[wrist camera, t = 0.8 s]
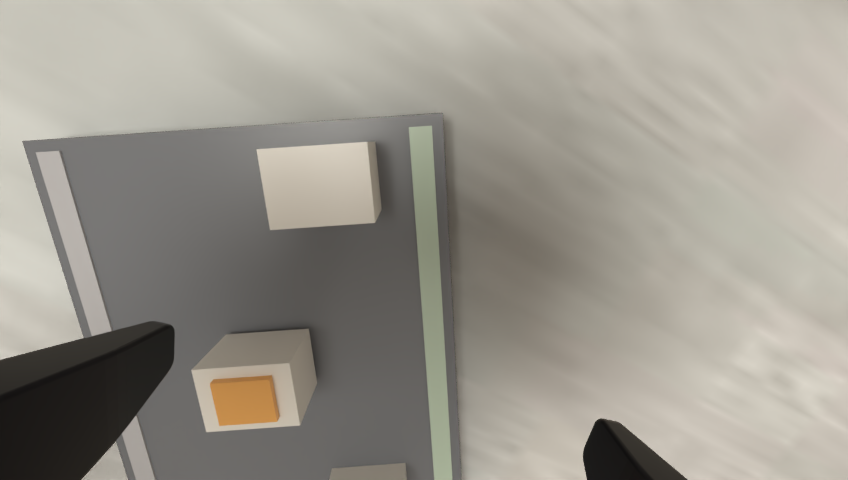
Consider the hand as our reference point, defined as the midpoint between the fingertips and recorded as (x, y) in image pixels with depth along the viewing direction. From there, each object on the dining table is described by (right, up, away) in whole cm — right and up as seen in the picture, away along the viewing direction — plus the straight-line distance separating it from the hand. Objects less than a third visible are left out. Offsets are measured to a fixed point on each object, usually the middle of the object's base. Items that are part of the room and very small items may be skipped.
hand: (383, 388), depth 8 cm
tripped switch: (-7, -3, +11) cm, 13 cm away
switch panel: (-7, -2, +13) cm, 15 cm away
